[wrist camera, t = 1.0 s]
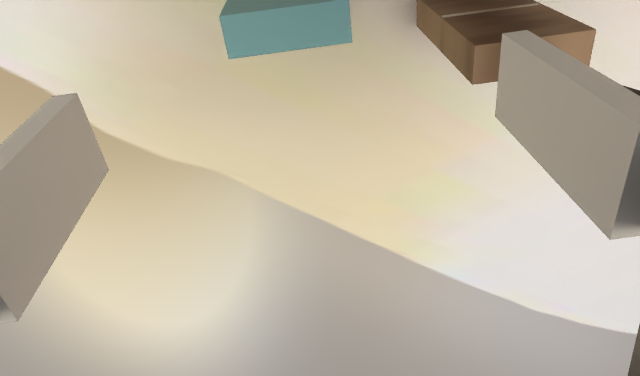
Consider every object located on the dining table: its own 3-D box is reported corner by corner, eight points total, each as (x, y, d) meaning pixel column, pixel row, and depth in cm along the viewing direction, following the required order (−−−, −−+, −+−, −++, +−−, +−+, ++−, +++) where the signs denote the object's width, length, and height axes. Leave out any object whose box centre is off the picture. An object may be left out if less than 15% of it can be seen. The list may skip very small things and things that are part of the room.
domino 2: (501, -15, 34) (596, 28, 23) (499, 15, 35) (588, 69, 25) (416, -4, 34) (474, 45, 23) (416, 26, 35) (472, 85, 25)
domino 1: (327, -39, 32) (349, -2, 22) (330, -6, 33) (352, 43, 23) (238, -27, 32) (219, 15, 22) (245, 5, 33) (228, 59, 23)
